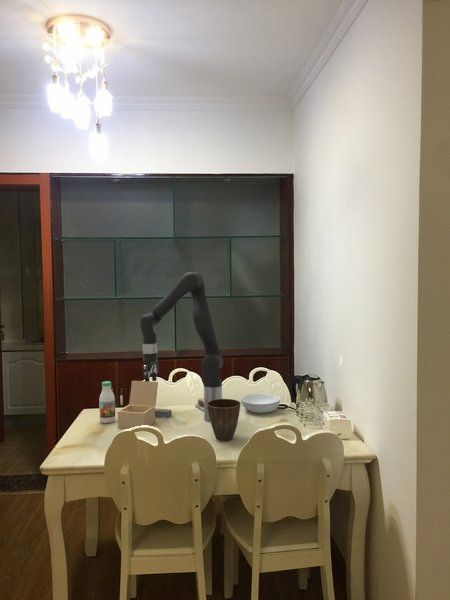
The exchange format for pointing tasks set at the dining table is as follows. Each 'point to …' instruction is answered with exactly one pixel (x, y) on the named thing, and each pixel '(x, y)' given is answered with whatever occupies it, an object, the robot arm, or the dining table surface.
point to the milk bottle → (107, 404)
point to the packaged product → (200, 404)
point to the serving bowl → (260, 402)
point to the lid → (143, 393)
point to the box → (136, 416)
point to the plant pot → (224, 417)
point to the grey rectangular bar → (163, 413)
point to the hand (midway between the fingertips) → (150, 382)
